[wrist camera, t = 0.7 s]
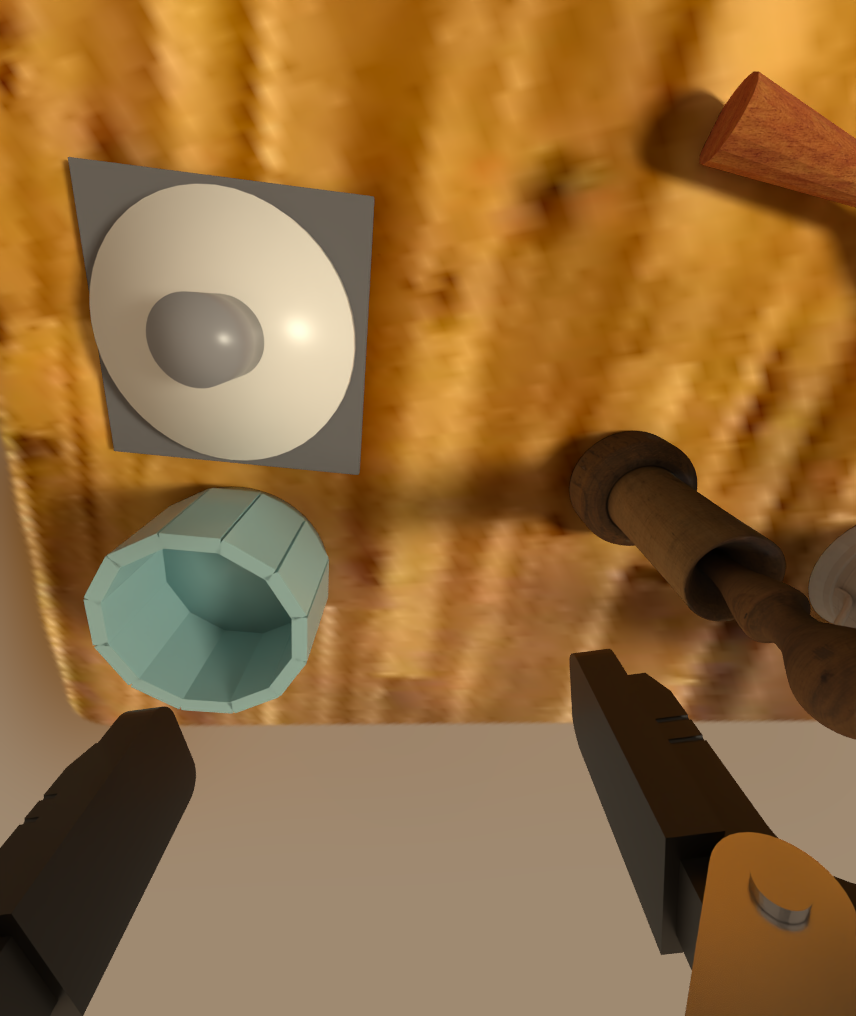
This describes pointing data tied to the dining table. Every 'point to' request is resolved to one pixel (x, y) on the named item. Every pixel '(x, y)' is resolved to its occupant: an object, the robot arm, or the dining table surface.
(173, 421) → the lid
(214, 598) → the cup
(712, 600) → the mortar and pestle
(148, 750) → the robot arm
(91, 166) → the mat
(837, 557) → the glass holder
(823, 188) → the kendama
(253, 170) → the dining table surface
